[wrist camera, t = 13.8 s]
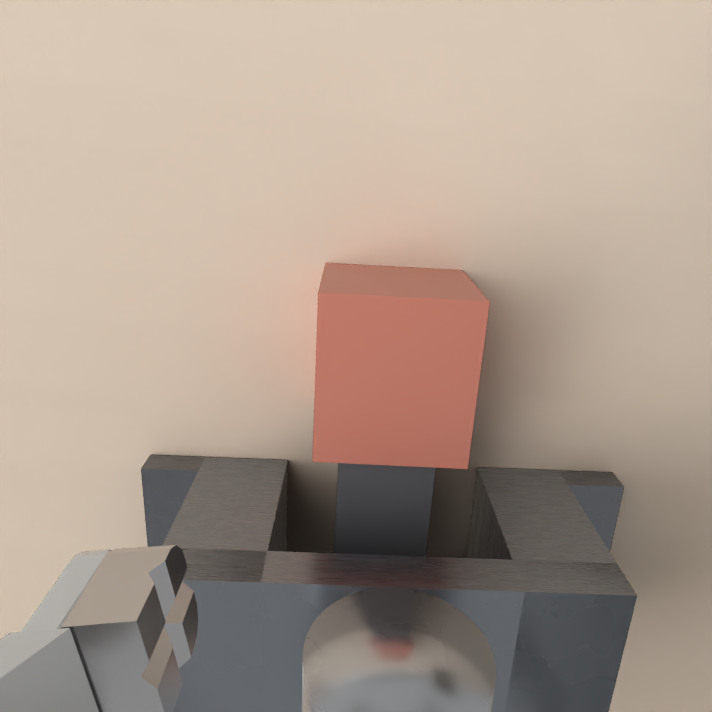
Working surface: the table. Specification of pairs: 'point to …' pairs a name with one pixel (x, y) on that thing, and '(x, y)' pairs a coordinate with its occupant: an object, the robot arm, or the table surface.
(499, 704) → the housing
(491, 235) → the table surface
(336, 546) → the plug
